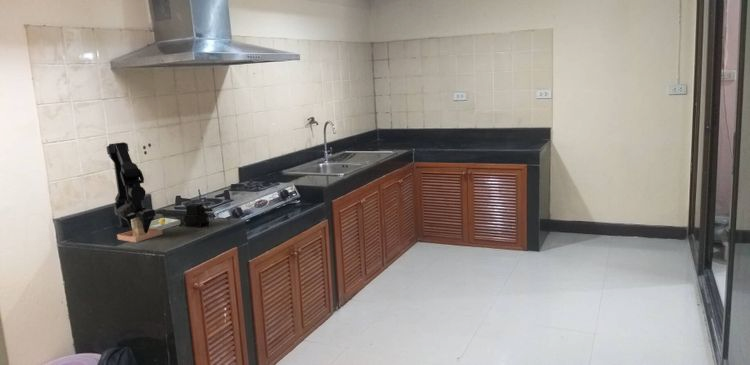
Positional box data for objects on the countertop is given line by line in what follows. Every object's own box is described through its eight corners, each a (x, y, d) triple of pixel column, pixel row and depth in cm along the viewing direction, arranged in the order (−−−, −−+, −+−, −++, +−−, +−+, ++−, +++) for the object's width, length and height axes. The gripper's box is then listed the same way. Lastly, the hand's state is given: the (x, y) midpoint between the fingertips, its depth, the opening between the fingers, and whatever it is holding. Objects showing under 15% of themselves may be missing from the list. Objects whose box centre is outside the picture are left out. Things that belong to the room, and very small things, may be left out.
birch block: (133, 237, 257) (130, 219, 256) (141, 235, 260) (138, 217, 259) (139, 238, 255) (136, 220, 253) (147, 235, 258) (144, 217, 256)
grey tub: (138, 230, 272) (138, 224, 272) (163, 222, 282) (162, 217, 282) (156, 232, 265) (155, 227, 264) (180, 225, 275) (179, 219, 275)
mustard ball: (157, 225, 277) (156, 218, 276) (163, 223, 279) (162, 217, 279) (161, 225, 275) (160, 219, 274) (167, 223, 277) (166, 217, 277)
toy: (208, 229, 263) (205, 207, 261) (183, 228, 269) (180, 206, 267) (219, 225, 270) (216, 203, 268) (194, 224, 276) (191, 203, 274)
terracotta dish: (118, 240, 256) (117, 234, 256) (144, 232, 266) (143, 227, 266) (136, 243, 249) (135, 237, 248) (162, 235, 259) (161, 229, 259)
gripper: (104, 199, 253) (109, 235, 256) (130, 202, 243) (136, 239, 245) (127, 193, 262) (133, 228, 265) (154, 196, 251) (159, 232, 254)
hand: (139, 232), depth 257 cm, fingers open, 9 cm apart
